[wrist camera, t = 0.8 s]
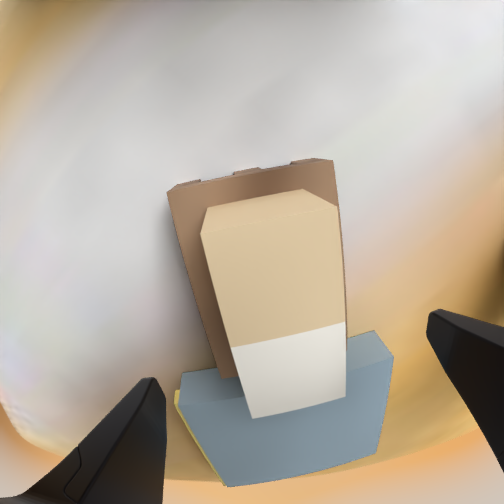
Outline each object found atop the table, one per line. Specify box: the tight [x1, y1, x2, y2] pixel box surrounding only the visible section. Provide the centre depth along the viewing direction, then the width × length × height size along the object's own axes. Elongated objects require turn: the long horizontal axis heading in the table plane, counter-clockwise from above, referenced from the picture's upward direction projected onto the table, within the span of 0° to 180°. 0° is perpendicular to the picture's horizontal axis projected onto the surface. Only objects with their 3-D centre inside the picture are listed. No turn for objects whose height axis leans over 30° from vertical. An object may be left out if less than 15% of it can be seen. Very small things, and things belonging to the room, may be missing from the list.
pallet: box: [167, 158, 347, 379], centre depth 15 cm, size 7×10×3 cm
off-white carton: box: [231, 322, 346, 419], centre depth 12 cm, size 4×4×4 cm
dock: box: [174, 331, 394, 487], centre depth 19 cm, size 13×12×3 cm
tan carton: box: [200, 189, 345, 348], centre depth 11 cm, size 4×4×4 cm
